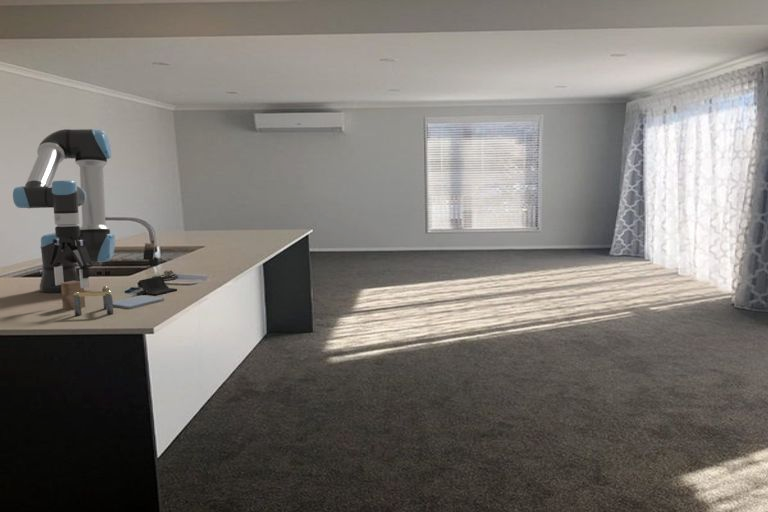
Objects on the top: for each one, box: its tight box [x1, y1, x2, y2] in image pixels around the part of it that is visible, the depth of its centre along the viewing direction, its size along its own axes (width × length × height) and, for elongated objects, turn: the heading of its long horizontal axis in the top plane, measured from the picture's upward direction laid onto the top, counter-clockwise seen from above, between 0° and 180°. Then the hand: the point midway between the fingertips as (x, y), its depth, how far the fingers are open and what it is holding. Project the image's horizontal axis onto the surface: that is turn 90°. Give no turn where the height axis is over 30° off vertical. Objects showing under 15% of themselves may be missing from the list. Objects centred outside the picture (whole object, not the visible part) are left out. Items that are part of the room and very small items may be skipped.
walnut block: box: [61, 281, 86, 310], centre depth 208 cm, size 5×5×9 cm
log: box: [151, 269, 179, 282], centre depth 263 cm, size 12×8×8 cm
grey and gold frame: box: [73, 285, 114, 317], centre depth 200 cm, size 10×13×8 cm
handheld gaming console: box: [138, 276, 178, 297], centre depth 234 cm, size 12×7×10 cm
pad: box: [113, 295, 165, 310], centre depth 215 cm, size 12×15×1 cm
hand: (72, 286), depth 207 cm, fingers open, 13 cm apart
